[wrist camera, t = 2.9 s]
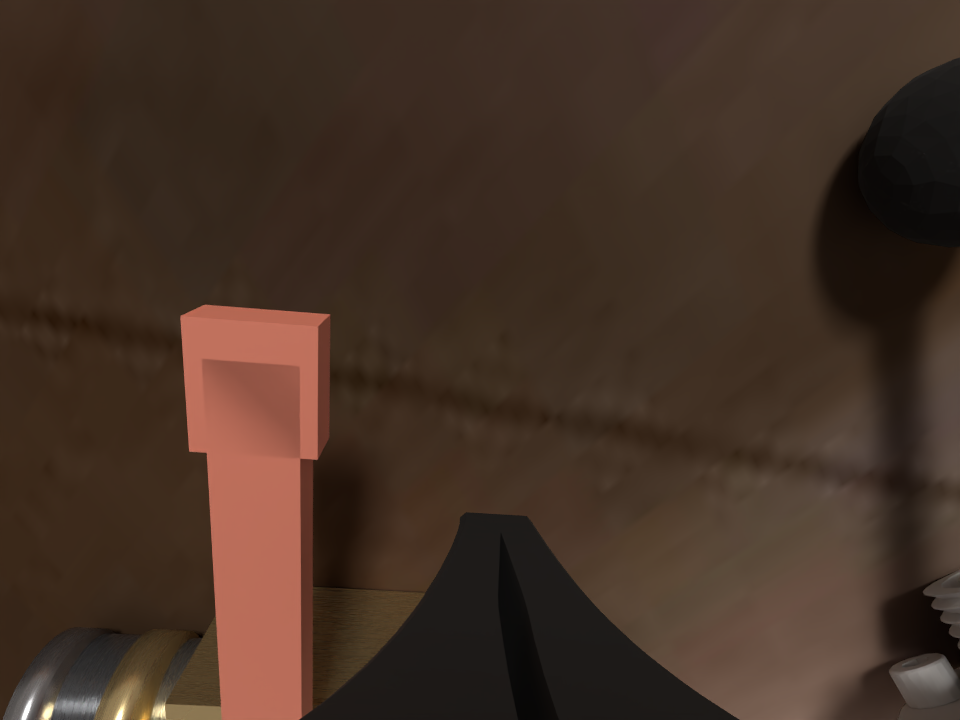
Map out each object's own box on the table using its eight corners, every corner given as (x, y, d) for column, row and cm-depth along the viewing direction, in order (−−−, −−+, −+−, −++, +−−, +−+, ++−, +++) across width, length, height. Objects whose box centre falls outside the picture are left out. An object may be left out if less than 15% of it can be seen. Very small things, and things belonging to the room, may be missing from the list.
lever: (342, 855, 15) (326, 940, 14) (232, 851, 15) (203, 937, 14) (354, 307, 11) (334, 331, 9) (204, 296, 11) (155, 317, 9)
